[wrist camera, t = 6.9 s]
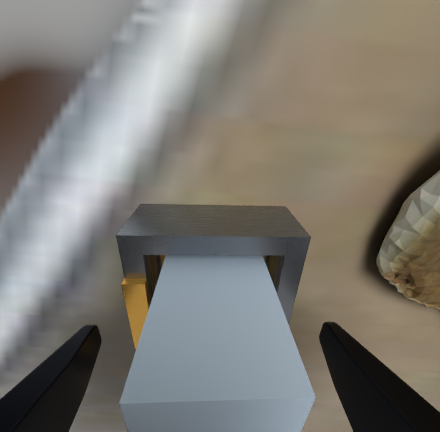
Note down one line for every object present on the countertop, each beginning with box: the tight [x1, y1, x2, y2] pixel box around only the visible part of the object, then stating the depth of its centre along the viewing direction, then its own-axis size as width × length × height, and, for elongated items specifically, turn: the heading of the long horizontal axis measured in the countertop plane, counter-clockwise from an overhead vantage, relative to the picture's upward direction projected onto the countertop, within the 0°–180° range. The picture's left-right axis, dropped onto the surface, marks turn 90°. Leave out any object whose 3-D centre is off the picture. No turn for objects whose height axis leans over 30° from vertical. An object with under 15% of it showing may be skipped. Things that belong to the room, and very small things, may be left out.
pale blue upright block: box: [119, 255, 316, 432], centre depth 8 cm, size 5×4×6 cm
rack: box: [116, 204, 311, 350], centre depth 10 cm, size 8×7×3 cm
